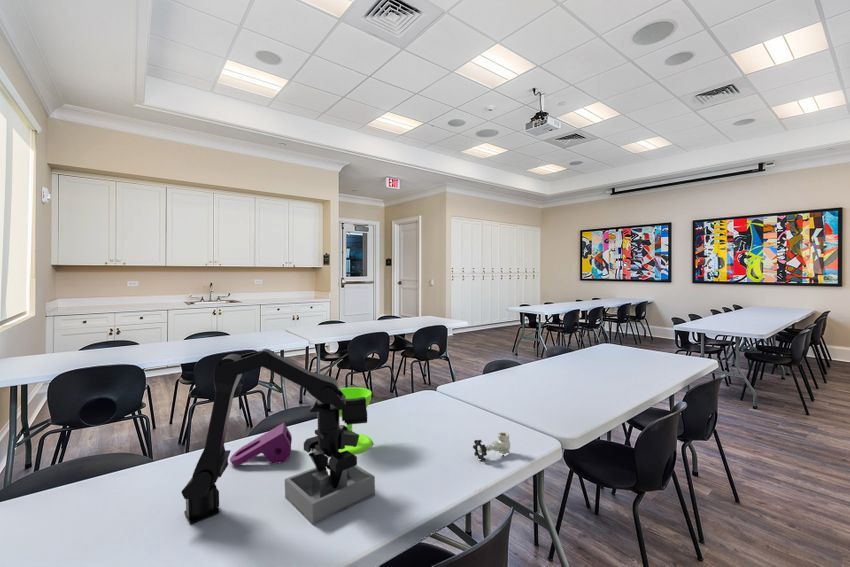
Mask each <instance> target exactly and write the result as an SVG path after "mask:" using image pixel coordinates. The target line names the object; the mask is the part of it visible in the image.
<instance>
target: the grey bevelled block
mask: <svg viewBox="0 0 850 567" xmlns="http://www.w3.org/2000/svg"><path fill="white" fill-rule="evenodd" d="M346 486H347V469H346V470H344V471H343V472H342V475H341V478H340V481H339V484H338V487H337V488H335V489H334V488H333V486H332V484H331V481H330V478H329V475H328V472H327V469H324V470H321V471H319V472H316V473H313V474H312V497H313V498H314V499H316V500H317V499H319V498H321V497H324V496H326V495H328V494H331V493H333V492H335V491H337V490H340V489H342V488H344V487H346Z"/></svg>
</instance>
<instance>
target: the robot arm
mask: <svg viewBox="0 0 850 567" xmlns="http://www.w3.org/2000/svg"><path fill="white" fill-rule="evenodd" d="M259 368H264V369H265V370H266V369H267V370H269V371H271V372H272V373H274V374H277V375H278V376H280V377H283V378H285V379H286V380H288V381H289V382H292V383H294V384H296V385H298V386H299V387H302V388H303V389H305V390H306V392H308V393H309V394H310V395H311V396H312V397H313V398H314V399H315V401H314V403H313V404H311V406H310V409H309V412H310V413H317V429H314V435H315V436H313V437H309V438H306V439H305V441H303V451H305V452H306V453H308V457H310V459H311V461H312V463H313V465H314V466H315V467H316V468H317V470H318V472H319V471H321V470H324V469H327V472H328V475H329V478H330V481H331V484H332V486H333V488H334V489H335V488H337V487H338V484H339V481H340V478H341V475H342V472H343V471H344V470H346V469H349V468H351V467H353V466H356V465H357V466H358V457H357V456H356V454H352V453H351V452H349V451H347V450H346V451H344V452H341V453H340V452H339V449H344V448H345V446H353V447H356V446H357V443H358V439H359V435H358V434H359V433H357V432H355V431H353V430H352V431H350V430H348V427H347V425H350V424H352V425H360V424H361V425H362V424H367V423H368V409H367V408H366V398H365V397H360V398H354V399H346V396H345V395H344V394H343V393H342V392H341V390H340V389H341V388H340V384H339V382H338V380H337V379H336V378H334V377H332V376H329V375H326V374H323V373H318V372H317V373H316V372H313V371H310V370H308V369H306V368H304V367H302V366H301V365H298V364H296V363H295V362H292V361H291V360H288V359H287V358H285V357H282V356H281V355H280V354H277V353H275V352H274V351H273V350H271V349H269V348H264V349H261V350H258V351H253V352H249V353H243V354H241V355H240V354H236V353H231V354H228V355H227V356H225V357H223V358H222V359H221V360H219V361H217V362H216V364H215V365H214V367H213V384H214V385H213V387H214V390H215V395H214V399H213V405H212V410H211V415H210V419H209V424H208V429H207V434H206V439H205V443H204V444H205V445H204V448H203V451H202V452H201V455H200V457H199V459H198V461H197V463H196V466H195V469H194V471H193V473H192V477H191V478H190V479H189V481H188V482H187V484H186V485H185V486H184V487H183V489H182V490H181V494H182V497H183V499H184V500H185V509H184V513H183V514H184V516H185V517H186V519H187V522H188V523H189V525H191V524H195V523H197V522H200V521H202V520H205V519H208V518H210V517H212V516H215V515H217V514H219V513H220V509H219V507H220V492H219V491H220V490H219V489H218V488H217V485H216V483H217V482H218V480H219V478H221V477H222V476H223V474H224V472H225V470H226V469H227V467H228V465H229V456H230V453H231V450H230V449H229V450H226V448H225V439H226V434H227V430H228V427H229V426H228V425H229V419H230V415H231V409H232V407H233V406H232V405H233V401H234V395H235V391H236V388H237V387H238V384H239V383H240V380H241V378H242V376H243V374H245V373H248V372H251V371H254V370H256V369H259ZM339 410H342V417H341V422H343V423H344V424H345V425H344V424H343V425H342V424H340V417H339ZM328 462H329V465H328ZM315 467H314V468H315Z"/></svg>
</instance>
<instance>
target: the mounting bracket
mask: <svg viewBox="0 0 850 567" xmlns="http://www.w3.org/2000/svg"><path fill="white" fill-rule="evenodd" d="M292 440H293V436H292V433H291V432H290V430H289V428H288V426H287V425H286V423H285V422H283V423H280V424H279V425H277V426H275V427H273V428H272V429H270V430H269V431H267V432H265V433H263V434H261V435H260V436H258V437H256V438H255V439H253V440H251V441H250V442H248V443H246V444H245V445H243V446H242V447H240V448H239V449H238V450H236V451H235V452H234V453H233V454H232V455H231V456H230V458H229V461H230V462H231V464H232V466H233V467H239V466H240V465H243V464H245V463H246V462H248V461H250V460H252V459H253V458H255V457H256V456H259V455H260V454H263V456H264V457H265V459H266V460H267V462H269V463H271V464H273V463H275V464H280V463H279V462H281V463H284V462H286V461H287V460H288V458H290V455H291V452H292V451H291V450H292Z"/></svg>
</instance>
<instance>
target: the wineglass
mask: <svg viewBox="0 0 850 567" xmlns="http://www.w3.org/2000/svg"><path fill="white" fill-rule="evenodd" d="M339 389H340V390H341V392H342V393H343V394H344V395H345V396H346V399H354V398H360V397H365V398H366V409H367V408H368V407H369V405H370V403H371V400H372V395H373V394H372V391H371V390H370V389H368V388H366V387H365V388H364V387H342V388H339ZM339 418H342V410H339ZM346 427H348V430H350V431H353V424H350V425H346ZM357 434H358V435H359V439H358V443H357V446H356V447H353V446H345V448H344V449H339V452H340V453H341V452H344V451H346V450H347V451H349V452H351V453H352V454H354V455H356V454H355V453H358V454H360V453H359V452H361V453H363V452H362V451H364V452H366V451H367V450H366V449H368V448H369V447H370V446H371V445H372V446H373V440H372V438H371V437H370V436H368V435H365V434H362V433H357ZM372 446H371V447H372ZM371 447H370V448H371ZM370 448H369V449H370ZM369 449H368V450H369ZM365 450H366V451H365Z"/></svg>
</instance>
